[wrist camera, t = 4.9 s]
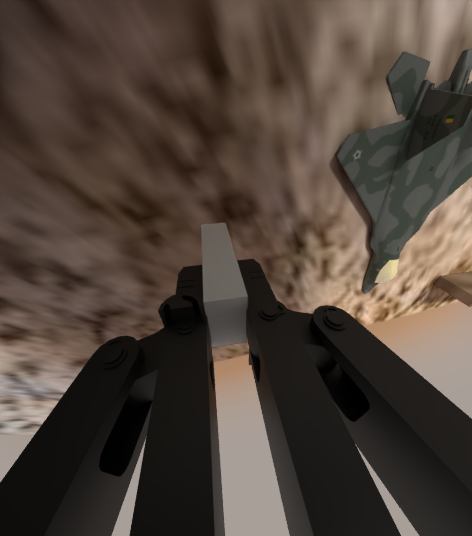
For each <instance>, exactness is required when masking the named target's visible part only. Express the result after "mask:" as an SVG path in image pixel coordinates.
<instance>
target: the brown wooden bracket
mask: <svg viewBox="0 0 472 536" xmlns="http://www.w3.org/2000/svg"><path fill="white" fill-rule="evenodd" d="M434 285H436V286H438V287H439V288H441V289H442V290H444V291H445V292H447V293H448V294H450V295H452V296H453V297H455V298H456V299H458V300H459V301H461V302H462V303H464V304H466V305H467V306H469V307H470V306H472V272H466V273H459V274H452V275H445V276H440V277H439V279H438V280H437V281H436V282H435V283H434Z"/></svg>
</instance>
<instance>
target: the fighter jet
mask: <svg viewBox="0 0 472 536" xmlns="http://www.w3.org/2000/svg"><path fill="white" fill-rule="evenodd" d="M429 64H430V61H427V60H425V59H422V58H420V57H417V56H415V55H412V54H409V53H407V52H403V53H402V54H401V56H400V57H399V59H398V60H397V62H396V63H395V65H394V66H393V68H392V69H391V71H390V72H389V74H388V75H387V80H388V83H389V87H390V90H391V93H392V97H393V100H394V103H395V107H396V110H397V113H398V115H399V114H402V115H403V116H405V117H406V120H405V121H402V122H398V123H394V124H390V125H386V126H382V127H378V128H374V129H370V130H366V131H362V132H358V133H354V134H350V135H348V136H347V138H346V139H345V141H344V143H343V144H342V146H341V147H340V149H339V151H338V152H337V154H336V157H337V159H338V160H339V162H340V164H341V165H342V167H343V169H344V171H345V172H346V174H347V176H348V178H349V179H350V181H351V183H352V184H353V186H354V188H355V190H356V191H357V193H358V195H359V197H360V198H361V200H362V202H363V204H364V206H365V207H366V209H367V211H368V213H369V215H370V216H371V218H372V233H371V238H370V245H371V248H372V249H373V251H374V252H373V255H372V258H371V260H370V264H369V267H368V270H367V272H366V275H365V278H364V282H363V291H364V294H366V293H367V292H369V291H370V290H371V289H372V288H373V287H374V286H376V285H377V284H378V283H384V282H387V281H389V280H391V279H392V278H393V277H394V276H395V274H396V273H397V270H398V262H399V255H400V252H401V251H402V249H403V247H404V245H405V243H406V242H407V241H408V240H409V239H410V238H411V237H412V236H413V235H414V234H415V233H416V232H417V231H418V230H419V229H420V227H421V226H422V224H423V223H424V221H425V220H426V218H427V216H428V215H429V213H430V212H431V211H432V210H433V209H434V208H436V207H437V206H438V205H439V204H440V203H441V202H443V201H444V200H445V199H446V198H447V197H448V196H450V195H451V194H452V193H453V192H454V191H455V190H457V189H458V188H459V187H460V186H461V185H462V184H464V183H465V182H466V181H467V180H468V179H469V178H471V177H472V82H471V83H469V84H467V82H468V80H469V79H468V78H469V75H470V72H471V69H472V49H468V50H465V51H463V52H462V54H461V56H460V58H459V60H458V62H457V64H456V66H455V68H454V70H453V72H452V74H451V77H450V79H449V81H444V82H443V83H441V84H440V85H439V86H438V87H437V88H434V85H435V84H434V83H431V82H430V81H428V80H425V81H424V78H425V75H426V72H427V69H428V67H429Z"/></svg>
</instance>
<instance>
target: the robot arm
mask: <svg viewBox="0 0 472 536" xmlns="http://www.w3.org/2000/svg"><path fill="white" fill-rule="evenodd" d="M201 232H202V265H198V266H189V267H183V269H182V270H181V271H180V273H179V274H178V281H177V282H178V283H177V289H176V295H173V296H171V297H170V298H168V299H166V300H165V301H164V302H163V303H162V304H161V306H160V308H159V310H158V312H159V314H160V317H161V319H162V322H163V324H164V326H165V327H164V328H163V329H161V330H160V331H158V332H156V333H155V334H153V335H150V336H148V337H145V338H143V339H141V340H138V341H137V340H136V339H135V338H134V337H130V336H120V337H116V338H114V339H112V340H109V341H108V342H106V343H105V344H103V345H102V346H100V347H99V348H98V350H97V351H96V352H95V353H94V354H93V355H92V356H91V358H90V359H89V361H88V362H87V363H86V365H85V366H84V367H83V369H82V370H81V372H80V373H79V374H78V376H77V377H76V378H75V380H74V381H73V383H72V384H71V385H70V387H69V388H68V390H67V391H66V392H65V394H64V395H63V396H62V398H61V399H60V401H59V402H58V403H57V405H56V406H55V408H54V409H53V410H52V412H51V413H50V414H49V416H48V417H47V419H46V420H45V421H44V423H43V424H42V426H41V427H40V428H39V430H38V431H37V432H36V434H35V435H34V437H33V438H32V439H31V441H30V442H29V444H28V445H27V446H26V448H25V449H24V450H23V452H22V453H21V455H20V456H19V458H18V459H17V460H16V461H15V463H14V464H13V466H12V467H11V468H10V470H9V471H8V473H7V474H6V475H5V477H4V478H3V480H2V481H1V482H0V536H111V535H112V532H113V529H114V526H115V524H116V521H117V518H118V515H119V512H120V510H121V506H122V503H123V501H124V498H125V495H126V492H127V489H128V487H129V484H130V481H131V478H132V475H133V473H134V470H135V467H136V464H137V461H138V458H139V456H140V453H141V450H142V447H143V444H144V441H145V439H146V443H145V448H144V454H143V461H142V466H141V472H140V478H139V484H138V489H137V495H136V501H135V507H134V513H133V519H132V525H131V530H130V536H225V528H224V513H223V498H222V484H221V469H220V453H219V439H218V423H217V409H216V395H215V378H214V363H213V357H212V348H213V347H219V346H225V345H231V344H238V343H244V342H247V339H248V344H249V365H252V370H253V374H254V379H255V383H256V387H257V392H258V396H259V401H260V405H261V409H262V414H263V419H264V423H265V427H266V431H267V436H268V440H269V445H270V450H271V454H272V458H273V463H274V467H275V472H276V476H277V481H278V485H279V489H280V494H281V499H282V503H283V507H284V512H285V516H286V520H287V525H288V530H289V534H290V536H401V535H400V533H399V531H398V529H397V527H396V525H395V523H394V521H393V519H392V517H391V515H390V513H389V511H388V509H387V507H386V505H385V503H384V501H383V499H382V497H381V495H380V493H379V491H378V489H377V487H376V485H375V483H374V481H373V479H372V477H371V475H370V473H369V471H368V469H367V467H366V465H365V463H364V461H363V459H362V457H361V455H360V453H359V451H358V449H357V447H358V448H359V450H360V451H361V452H362V454H363V455H364V457H365V458H366V460H367V461H368V462H369V464H370V465H371V467H372V468H373V470H374V471H375V472H376V474H377V475H378V477H379V478H380V480H381V481H382V483H383V484H384V485H385V487H386V488H387V490H388V491H389V493H390V494H391V495H392V497H393V498H394V500H395V501H396V503H397V504H398V505H399V507H400V508H401V509H402V511H403V513H404V514H405V515H406V517H407V518H408V520H409V521H410V522H411V524H412V526H413V527H414V528H415V530H416V531H417V533H418V534H419V535H420V536H472V419H471V418H470V417H469V416H468V415H466V414H465V413H464V412H463V411H462V410H461V409H459V408H458V407H457V406H456V405H455V404H453V403H452V402H451V401H450V400H449V399H448V398H447V397H445V396H444V395H443V394H442V393H441V392H440V391H438V390H437V389H436V388H435V387H434V386H433V385H431V384H430V383H429V382H428V381H427V380H426V379H424V378H423V377H422V376H421V375H420V374H419V373H417V372H416V371H415V370H414V369H413V368H412V367H410V366H409V365H408V364H407V363H406V362H405V361H403V360H402V359H401V358H400V357H399V356H397V355H396V354H395V353H394V352H393V351H392V350H390V349H389V348H388V347H387V346H386V345H385V344H383V343H382V342H381V341H380V340H379V339H377V338H376V337H375V336H374V335H373V334H372V333H371V332H369V331H368V330H367V329H366V328H365V327H364V326H362V325H361V324H360V323H359V322H358V321H357V320H355V319H354V318H353V317H352V316H351V315H350V314H348V313H347V312H345V311H344V310H342V309H340V308H337V307H335V306H328V305H325V306H320V307H318V308H317V309H315V311H314V313H313V314H309V313H301V312H295V311H291V310H289V309H287V308H286V307H285V306H284V305H283V304H282V303H280V302H279V301H277V300H276V298H275V296H274V294H273V292H272V289H271V287H270V285H269V283H268V281H267V279H266V278H265V274H264V272H263V270H262V268H261V266H260V264H259V263H258V262H256V261H255V260H254V259H247V260H237V259H236V256H235V252H234V249H233V246H232V242H231V239H230V236H229V232H228V229H227V226H226V223H213V224H201ZM146 436H147V437H146ZM354 442H355V443H354ZM355 444H356V445H357V447H356V445H355Z"/></svg>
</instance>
